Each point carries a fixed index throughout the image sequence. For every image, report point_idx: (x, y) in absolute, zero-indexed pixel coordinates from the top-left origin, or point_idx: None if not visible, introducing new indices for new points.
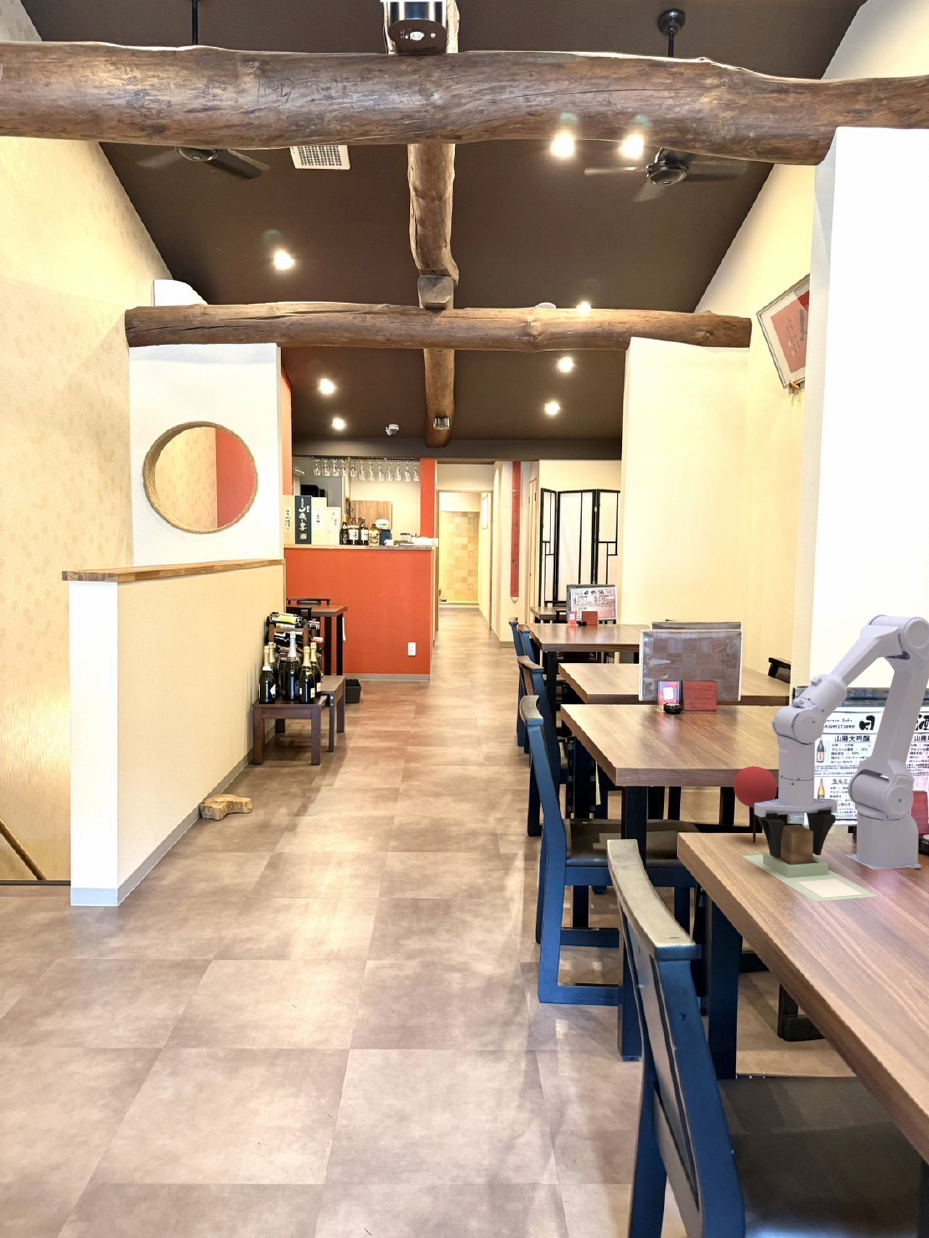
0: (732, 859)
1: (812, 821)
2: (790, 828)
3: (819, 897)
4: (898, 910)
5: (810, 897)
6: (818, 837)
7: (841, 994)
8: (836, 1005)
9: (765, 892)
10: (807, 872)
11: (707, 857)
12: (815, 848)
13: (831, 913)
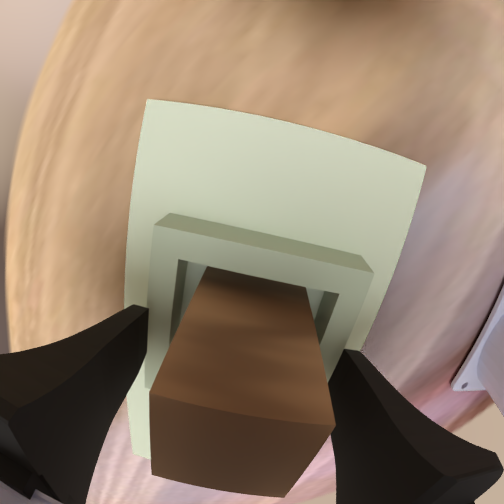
0: (119, 90)
1: (383, 479)
2: (197, 448)
3: None
4: (271, 497)
5: (135, 444)
6: (340, 451)
7: None
8: None
9: None
10: None
11: (61, 52)
12: (333, 397)
13: (145, 468)
